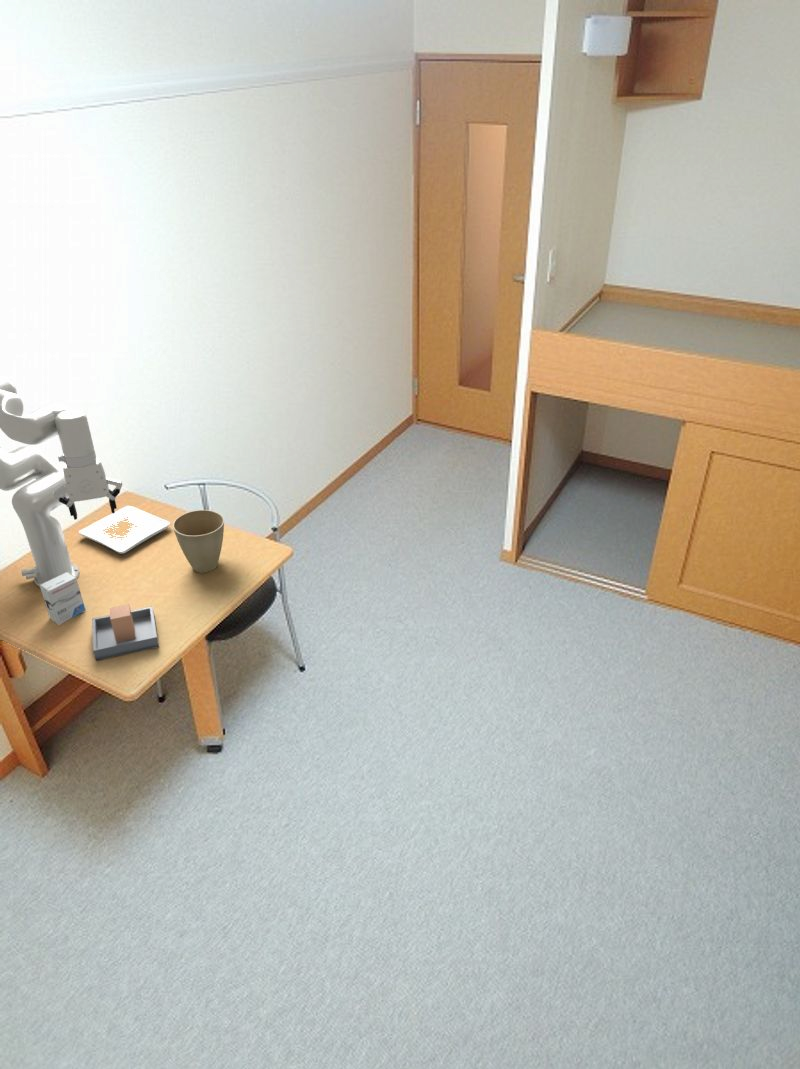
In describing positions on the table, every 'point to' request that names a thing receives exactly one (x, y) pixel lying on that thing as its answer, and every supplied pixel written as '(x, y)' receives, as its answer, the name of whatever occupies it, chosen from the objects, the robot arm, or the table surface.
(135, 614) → the tray
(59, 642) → the table surface
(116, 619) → the terracotta block
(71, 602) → the ink box
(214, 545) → the plant pot
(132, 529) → the salad plate
